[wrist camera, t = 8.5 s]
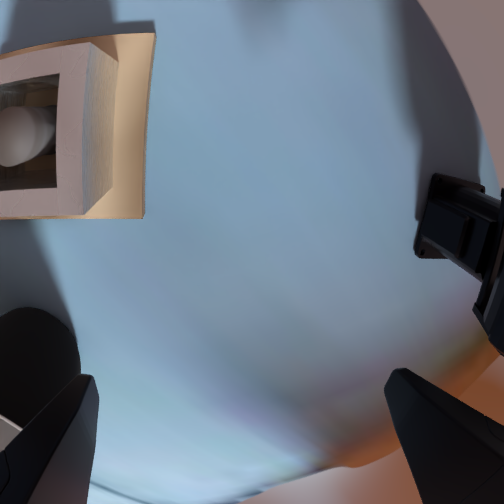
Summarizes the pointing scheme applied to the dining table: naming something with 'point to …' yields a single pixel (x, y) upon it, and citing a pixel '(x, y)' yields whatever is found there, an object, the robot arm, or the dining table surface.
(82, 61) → the collar
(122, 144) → the shaft block
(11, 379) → the mug
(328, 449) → the dining table surface
